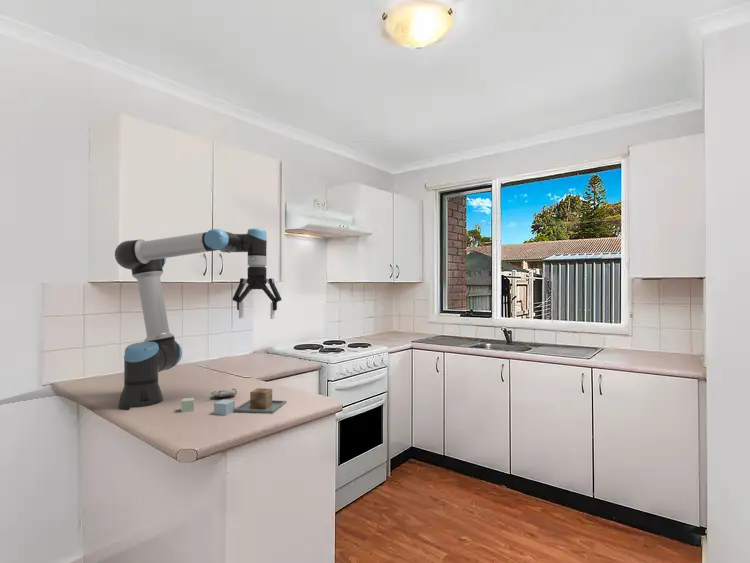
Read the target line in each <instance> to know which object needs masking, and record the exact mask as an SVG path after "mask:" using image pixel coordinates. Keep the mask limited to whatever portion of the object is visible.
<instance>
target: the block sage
mask: <svg viewBox="0 0 750 563" xmlns="http://www.w3.org/2000/svg"><path fill="white" fill-rule="evenodd" d="M194 411H195V397H185V398H181V413H188V412H189V413H190V412H191V413H192V412H194Z"/></svg>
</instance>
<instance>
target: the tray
mask: <svg viewBox="0 0 750 563" xmlns="http://www.w3.org/2000/svg"><path fill="white" fill-rule="evenodd" d="M286 404H287V400H275V399H272V405H271V406H270V407H269V408H267V409H250V399H249V400H247V401H245V402H243V403H242V404H239V405H238V406H237V407H236V406H235V409H234V412H233V413H241V414H242V413H245V414H272V415H273V414H274V413H275V412H277V411H278V410H279V409H281V408H282V407H283V406H284V405H286Z"/></svg>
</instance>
